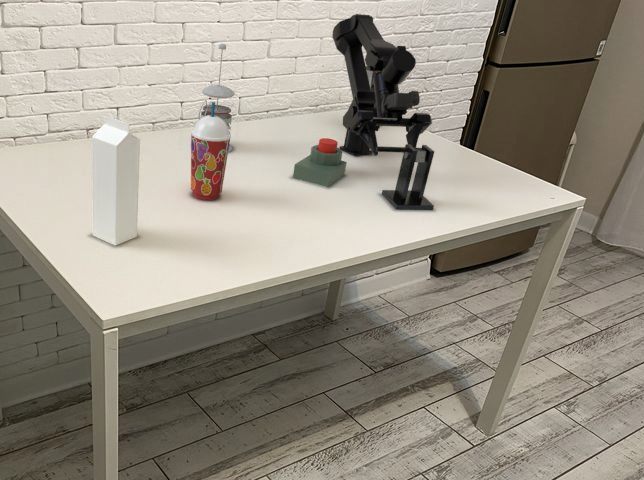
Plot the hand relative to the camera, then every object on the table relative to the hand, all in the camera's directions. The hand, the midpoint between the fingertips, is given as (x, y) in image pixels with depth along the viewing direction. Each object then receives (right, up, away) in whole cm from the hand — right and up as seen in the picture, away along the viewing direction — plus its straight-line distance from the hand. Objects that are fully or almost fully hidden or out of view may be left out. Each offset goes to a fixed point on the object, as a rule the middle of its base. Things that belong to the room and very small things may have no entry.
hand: (394, 155), depth 174 cm
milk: (-61, -25, -35) cm, 74 cm away
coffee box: (+2, +22, +46) cm, 51 cm away
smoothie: (-44, -12, -14) cm, 48 cm away
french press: (-44, +5, +14) cm, 46 cm away
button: (-16, +2, +2) cm, 16 cm away
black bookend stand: (+2, -12, -5) cm, 13 cm away
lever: (+2, -3, -8) cm, 8 cm away
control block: (-17, -4, +3) cm, 18 cm away
